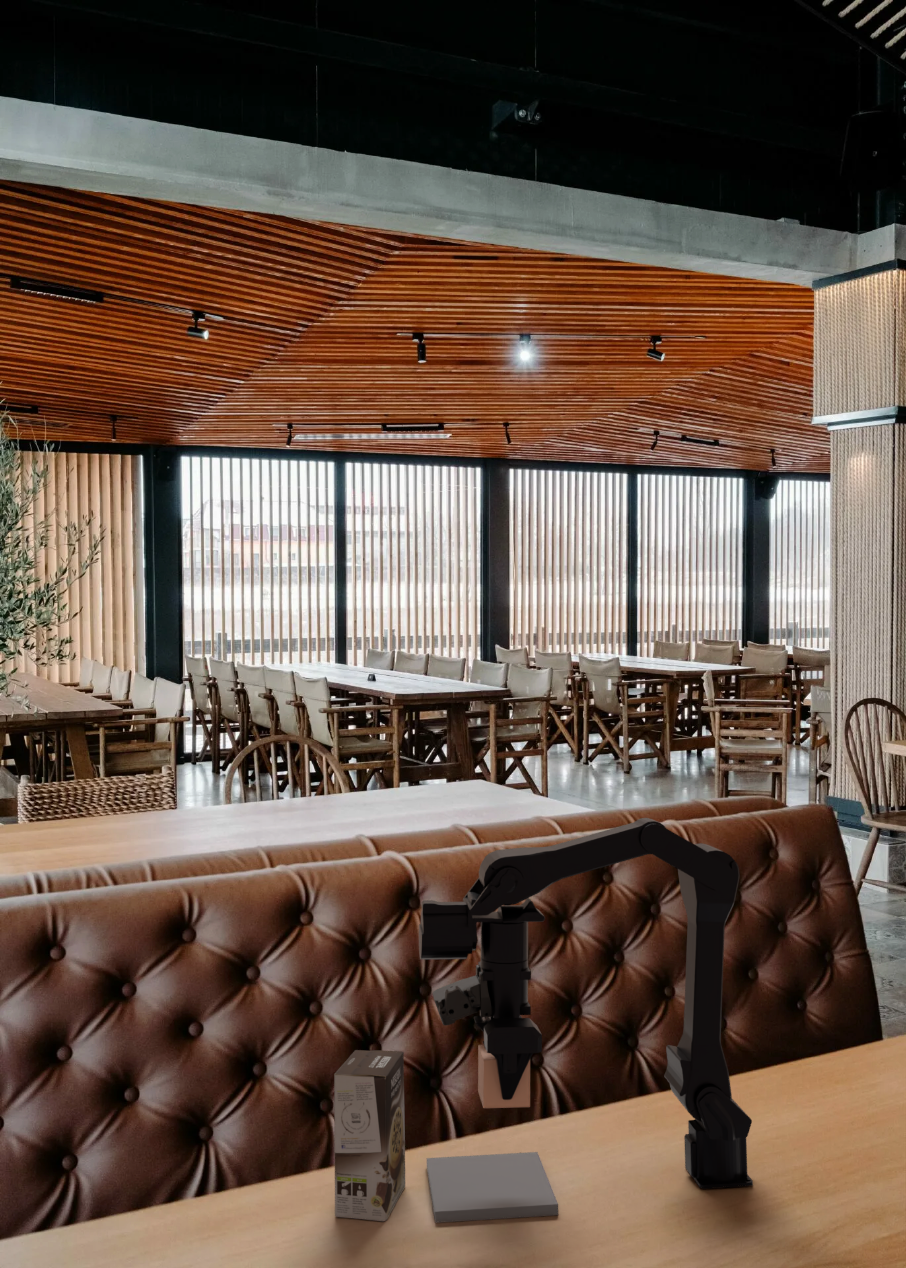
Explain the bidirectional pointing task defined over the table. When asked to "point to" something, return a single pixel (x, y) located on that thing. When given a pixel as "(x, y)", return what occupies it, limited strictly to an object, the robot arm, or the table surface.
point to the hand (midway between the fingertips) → (503, 1090)
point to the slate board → (489, 1187)
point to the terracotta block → (491, 1084)
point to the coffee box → (369, 1134)
